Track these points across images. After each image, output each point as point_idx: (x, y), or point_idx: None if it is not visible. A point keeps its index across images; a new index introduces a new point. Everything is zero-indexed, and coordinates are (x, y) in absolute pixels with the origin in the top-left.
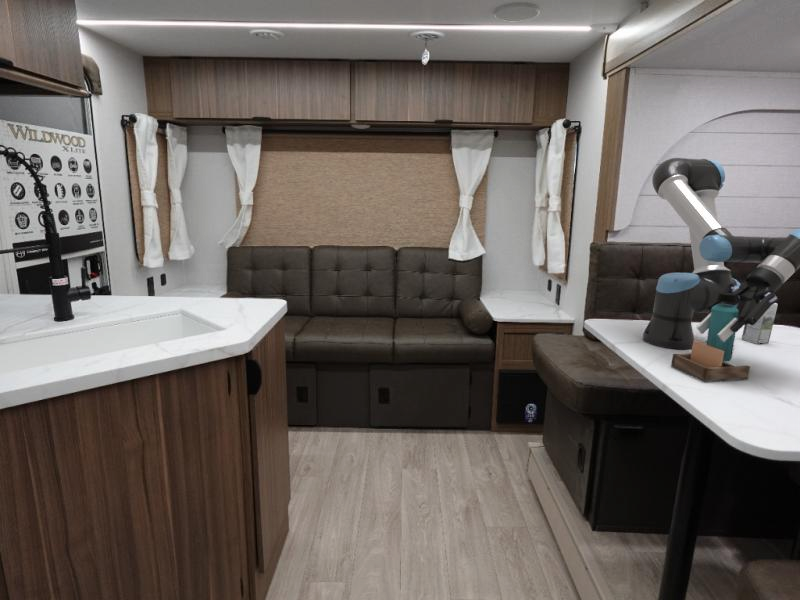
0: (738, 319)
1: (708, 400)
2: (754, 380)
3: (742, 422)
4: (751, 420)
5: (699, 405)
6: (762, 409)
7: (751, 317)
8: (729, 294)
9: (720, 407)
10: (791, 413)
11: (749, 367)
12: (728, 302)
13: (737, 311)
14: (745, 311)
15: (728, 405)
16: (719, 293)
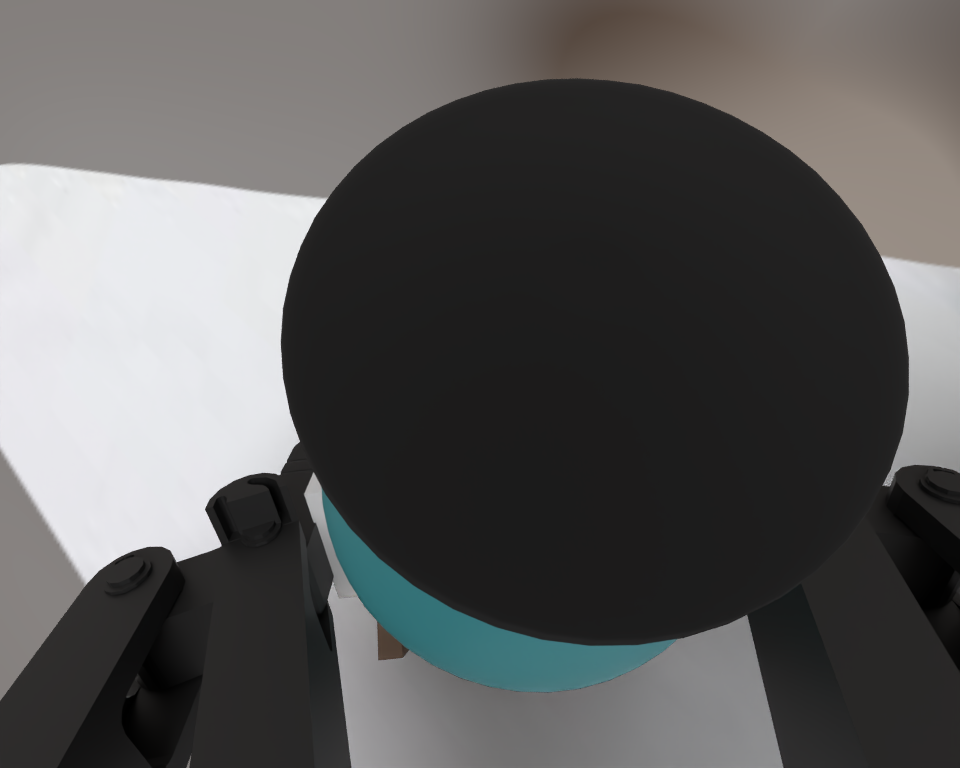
0: (312, 528)
1: (225, 255)
2: (387, 683)
3: (56, 245)
4: (56, 286)
5: (197, 197)
6: (106, 403)
7: (82, 596)
8: (384, 229)
9: (165, 256)
10: (41, 498)
11: (378, 652)
12: (847, 761)
13: (332, 543)
14: (223, 652)
15: (171, 297)
16: (672, 92)
